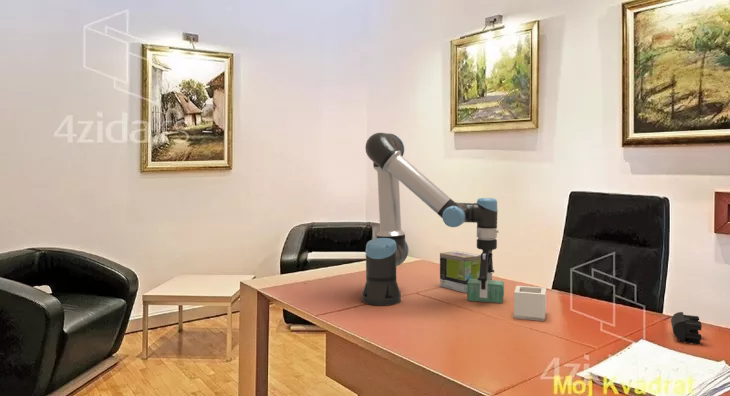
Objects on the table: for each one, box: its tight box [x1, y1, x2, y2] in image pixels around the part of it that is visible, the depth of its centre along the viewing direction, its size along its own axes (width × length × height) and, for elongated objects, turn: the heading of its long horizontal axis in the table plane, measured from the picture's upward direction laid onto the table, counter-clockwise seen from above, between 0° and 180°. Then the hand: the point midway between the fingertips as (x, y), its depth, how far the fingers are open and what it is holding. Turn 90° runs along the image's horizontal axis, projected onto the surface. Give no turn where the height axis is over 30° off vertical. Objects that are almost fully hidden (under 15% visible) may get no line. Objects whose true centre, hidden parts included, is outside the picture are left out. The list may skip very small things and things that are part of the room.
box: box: [466, 279, 505, 304], centre depth 203 cm, size 7×14×8 cm, turn 74°
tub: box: [513, 285, 547, 322], centre depth 182 cm, size 10×10×9 cm
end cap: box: [670, 311, 702, 345], centre depth 158 cm, size 10×7×7 cm
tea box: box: [439, 250, 481, 294], centre depth 221 cm, size 15×10×15 cm
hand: (486, 293), depth 203 cm, fingers open, 13 cm apart
